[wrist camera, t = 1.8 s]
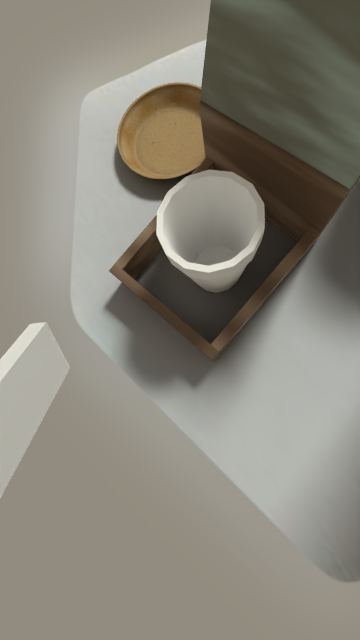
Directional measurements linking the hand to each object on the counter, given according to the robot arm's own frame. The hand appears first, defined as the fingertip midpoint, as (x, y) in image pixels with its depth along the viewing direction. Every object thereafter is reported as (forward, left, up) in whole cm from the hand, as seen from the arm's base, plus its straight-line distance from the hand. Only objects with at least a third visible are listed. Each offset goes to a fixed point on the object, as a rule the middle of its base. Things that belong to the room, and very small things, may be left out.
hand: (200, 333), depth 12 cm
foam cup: (-8, -8, -24) cm, 27 cm away
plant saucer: (-19, -25, -25) cm, 40 cm away
